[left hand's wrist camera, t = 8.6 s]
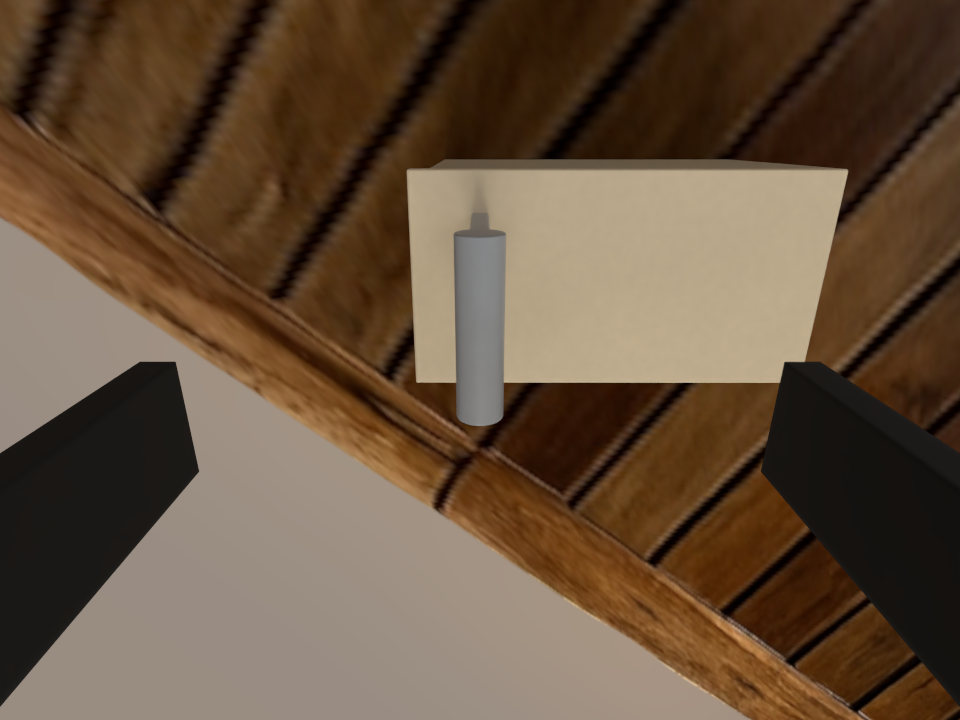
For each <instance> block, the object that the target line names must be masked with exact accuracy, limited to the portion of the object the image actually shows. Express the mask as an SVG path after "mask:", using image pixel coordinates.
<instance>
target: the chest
mask: <svg viewBox="0 0 960 720" xmlns="http://www.w3.org/2000/svg"><path fill="white" fill-rule="evenodd" d="M431 168H826V167H814V166H801V165H789V164H777V163H765V162H752V161H740V160H728V159H445V160H443V161H442V162H440V163H438V164H436V165H435V166H433V167H431Z"/></svg>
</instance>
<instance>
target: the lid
mask: <svg viewBox="0 0 960 720" xmlns="http://www.w3.org/2000/svg"><path fill="white" fill-rule="evenodd" d="M847 174H848V170H847V169H838V168H410V169H408V170H407V190H408V212H409V234H410V256H411V278H412V300H413V322H414V343H415V365H416V381H417V382H456V404H457V417H458V419H459V420H460V421H462V422H463V423H466V424H469V425H475V426H485V425H491V424H494V423H496V422H498V421H500V420H501V419H502V417H503V397H504V382H659V383H780V380H781V376H782V371H783V366H784V362H805V358H806V354H807V349H808V345H809V340H810V336H811V332H812V327H813V323H814V319H815V314H816V310H817V305H818V301H819V297H820V292H821V288H822V284H823V279H824V275H825V270H826V266H827V262H828V257H829V253H830V249H831V244H832V240H833V235H834V231H835V227H836V222H837V218H838V214H839V209H840V205H841V200H842V196H843V192H844V187H845V183H846V179H847Z"/></svg>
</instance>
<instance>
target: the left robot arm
mask: <svg viewBox="0 0 960 720" xmlns="http://www.w3.org/2000/svg"><path fill="white" fill-rule="evenodd" d="M198 472H199V469H198V464H197V460H196V455H195V450H194V446H193V441H192V436H191V432H190V427H189V422H188V418H187V413H186V409H185V404H184V399H183V394H182V390H181V385H180V381H179V376H178V371H177V366H176V362H139V363H138V364H136V365H134V366H133V367H131V368H130V369H128V370H127V371H125V372H124V373H122V374H121V375H119V376H118V377H116V378H115V379H113V380H112V381H110V382H108V383H107V384H105V385H104V386H102V387H101V388H99V389H98V390H96V391H95V392H93V393H92V394H90V395H89V396H87V397H86V398H84V399H82V400H81V401H79V402H78V403H76V404H75V405H73V406H72V407H70V408H69V409H67V410H66V411H64V412H63V413H61V414H60V415H58V416H57V417H55V418H54V419H52V420H50V421H49V422H47V423H46V424H44V425H43V426H41V427H40V428H38V429H37V430H35V431H34V432H32V433H31V434H29V435H27V436H26V437H24V438H23V439H21V440H20V441H18V442H17V443H15V444H14V445H12V446H11V447H9V448H8V449H6V450H5V451H3V452H2V453H0V706H1V705H2V704H3V703H4V702H5V700H6V699H7V698H8V697H9V696H10V694H11V693H12V692H13V691H14V690H15V689H16V687H17V686H18V685H19V684H20V683H21V681H22V680H23V679H24V678H25V677H26V676H27V674H28V673H29V672H30V671H31V670H32V668H33V667H34V666H35V665H36V664H37V663H38V661H39V660H40V659H41V658H42V657H43V655H44V654H45V653H46V652H47V651H48V650H49V648H50V647H51V646H52V645H53V644H54V642H55V641H56V640H57V639H58V638H59V637H60V635H61V634H62V633H63V632H64V631H65V629H66V628H67V627H68V626H69V625H70V623H71V622H72V621H73V620H74V619H75V618H76V616H77V615H78V614H79V613H80V612H81V611H82V609H83V608H84V607H85V606H86V605H87V603H88V602H89V601H90V600H91V599H92V597H93V596H94V595H95V594H96V593H97V592H98V590H99V589H100V588H101V587H102V586H103V585H104V583H105V582H106V581H107V580H108V579H109V577H110V576H111V575H112V574H113V573H114V572H115V570H116V569H117V568H118V567H119V566H120V564H121V563H122V562H123V561H124V560H125V558H126V557H127V556H128V555H129V554H130V553H131V551H132V550H133V549H134V548H135V547H136V545H137V544H138V543H139V542H140V541H141V540H142V538H143V537H144V536H145V535H146V534H147V532H148V531H149V530H150V529H151V528H152V527H153V525H154V524H155V523H156V522H157V521H158V519H159V518H160V517H161V516H162V515H163V514H164V512H165V511H166V510H167V509H168V508H169V506H170V505H171V504H172V503H173V502H174V501H175V499H176V498H177V497H178V496H179V495H180V493H181V492H182V491H183V490H184V489H185V488H186V486H187V485H188V484H189V483H190V482H191V480H192V479H193V478H194V477H195V476H196V475H197V473H198ZM761 472H762V473H763V475H764V476H765V477H766V478H767V479H768V480H769V482H770V483H771V484H772V485H773V486H774V488H775V489H776V490H777V491H778V492H779V493H780V495H781V496H782V497H783V498H784V499H785V501H786V502H787V503H788V504H789V505H790V506H791V508H792V509H793V510H794V511H795V512H796V514H797V515H798V516H799V517H800V518H801V519H802V521H803V522H804V523H805V524H806V525H807V527H808V528H809V529H810V530H811V531H812V532H813V534H814V535H815V536H816V537H817V538H818V540H819V541H820V542H821V543H822V544H823V545H824V547H825V548H826V549H827V550H828V551H829V553H830V554H831V555H832V556H833V557H834V558H835V560H836V561H837V562H838V563H839V564H840V566H841V567H842V568H843V569H844V570H845V572H846V573H847V574H848V575H849V576H850V577H851V579H852V580H853V581H854V582H855V583H856V585H857V586H858V587H859V588H860V589H861V590H862V592H863V593H864V594H865V595H866V596H867V598H868V599H869V600H870V601H871V602H872V603H873V605H874V606H875V607H876V608H877V609H878V611H879V612H880V613H881V614H882V615H883V616H884V618H885V619H886V620H887V621H888V622H889V624H890V625H891V626H892V627H893V628H894V629H895V631H896V632H897V633H898V634H899V635H900V637H901V638H902V639H903V640H904V641H905V642H906V644H907V645H908V646H909V647H910V648H911V650H912V651H913V652H914V653H915V654H916V655H917V657H918V658H919V659H920V660H921V661H922V663H923V664H924V665H925V666H926V667H927V668H928V670H929V671H930V672H931V673H932V674H933V676H934V677H935V678H936V679H937V680H938V681H939V683H940V684H941V685H942V686H943V687H944V689H945V690H946V691H947V692H948V693H949V694H950V696H951V697H952V698H953V699H954V700H955V702H956V703H957V704H958V705H959V706H960V453H958V452H957V451H955V450H954V449H952V448H951V447H949V446H948V445H946V444H945V443H943V442H942V441H940V440H939V439H937V438H936V437H934V436H933V435H931V434H929V433H928V432H926V431H925V430H923V429H922V428H920V427H919V426H917V425H916V424H914V423H913V422H911V421H910V420H908V419H907V418H905V417H903V416H902V415H900V414H899V413H897V412H896V411H894V410H893V409H891V408H890V407H888V406H887V405H885V404H884V403H882V402H881V401H879V400H878V399H876V398H874V397H873V396H871V395H870V394H868V393H867V392H865V391H864V390H862V389H861V388H859V387H858V386H856V385H855V384H853V383H852V382H850V381H848V380H847V379H845V378H844V377H842V376H841V375H839V374H838V373H836V372H835V371H833V370H832V369H830V368H829V367H827V366H826V365H824V364H823V363H821V362H784V366H783V371H782V376H781V380H780V385H779V390H778V394H777V399H776V404H775V408H774V413H773V418H772V422H771V427H770V432H769V436H768V441H767V446H766V450H765V455H764V460H763V464H762V469H761Z"/></svg>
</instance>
